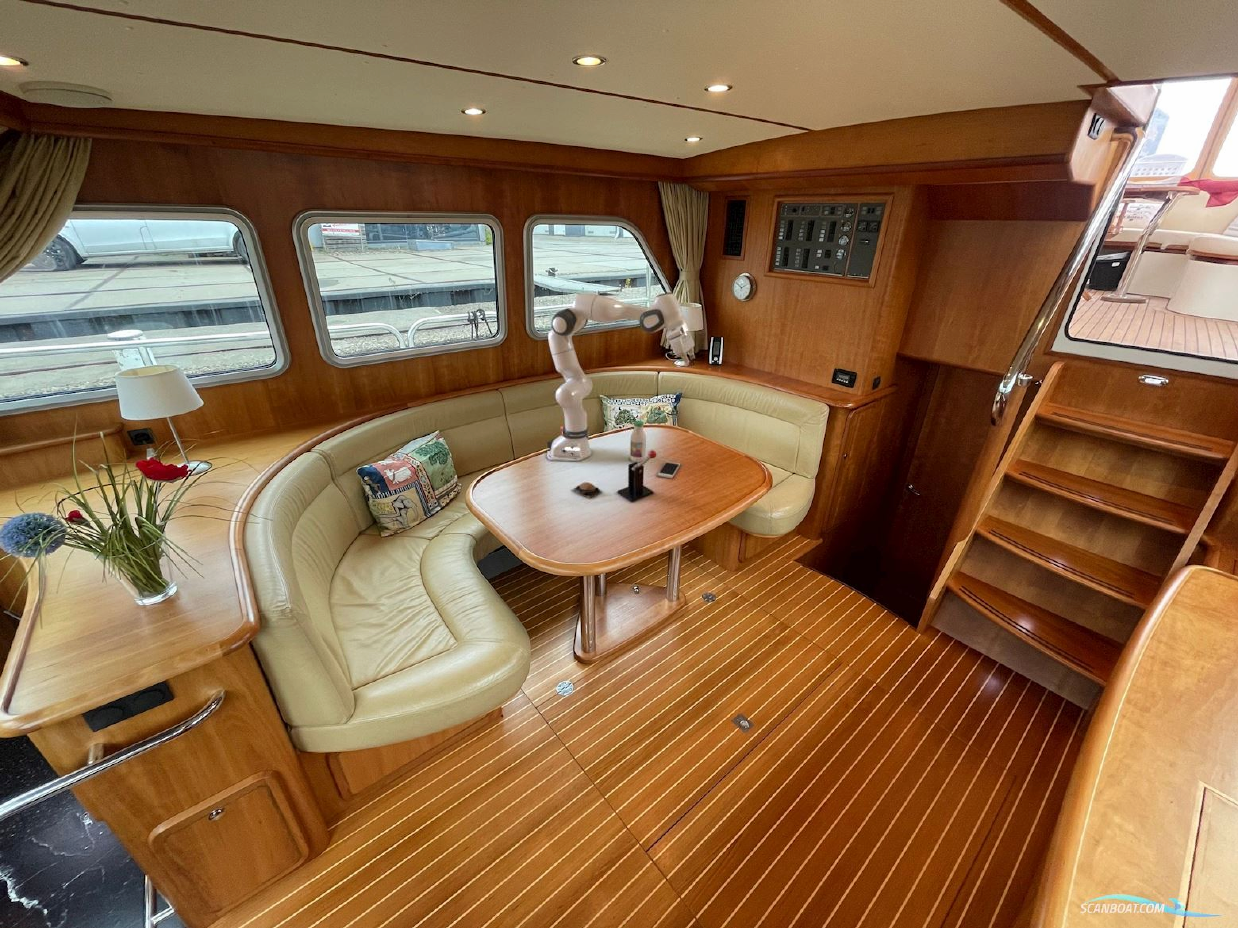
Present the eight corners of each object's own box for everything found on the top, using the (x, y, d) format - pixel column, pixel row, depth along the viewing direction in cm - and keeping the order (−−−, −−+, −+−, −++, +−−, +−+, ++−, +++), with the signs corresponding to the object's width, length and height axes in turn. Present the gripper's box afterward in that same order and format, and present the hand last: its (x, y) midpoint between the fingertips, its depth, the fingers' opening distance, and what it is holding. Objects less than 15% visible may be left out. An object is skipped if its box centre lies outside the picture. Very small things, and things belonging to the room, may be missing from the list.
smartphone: (657, 476, 224) (657, 474, 223) (666, 462, 237) (666, 460, 236) (671, 478, 221) (672, 476, 221) (680, 464, 234) (680, 463, 234)
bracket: (638, 485, 216) (639, 457, 210) (653, 493, 209) (654, 465, 203) (617, 492, 210) (617, 464, 204) (631, 502, 202) (632, 473, 196)
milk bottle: (637, 454, 245) (638, 417, 236) (648, 459, 240) (649, 422, 231) (627, 459, 240) (627, 421, 231) (638, 464, 235) (639, 426, 226)
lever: (653, 453, 210) (651, 447, 208) (659, 456, 207) (656, 450, 205) (632, 472, 206) (629, 466, 204) (637, 475, 203) (634, 469, 201)
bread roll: (571, 491, 211) (571, 483, 210) (585, 484, 217) (585, 477, 215) (588, 499, 205) (588, 491, 203) (602, 492, 210) (602, 484, 209)
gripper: (677, 329, 211) (689, 359, 214) (664, 337, 193) (677, 369, 196) (690, 324, 208) (702, 353, 211) (678, 331, 190) (691, 363, 193)
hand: (690, 361), depth 203 cm, fingers open, 8 cm apart
